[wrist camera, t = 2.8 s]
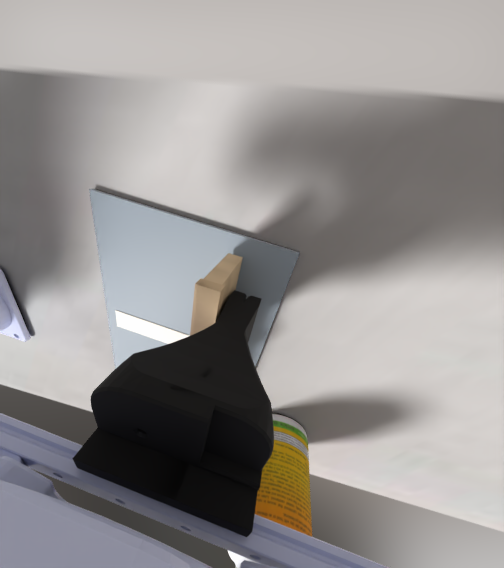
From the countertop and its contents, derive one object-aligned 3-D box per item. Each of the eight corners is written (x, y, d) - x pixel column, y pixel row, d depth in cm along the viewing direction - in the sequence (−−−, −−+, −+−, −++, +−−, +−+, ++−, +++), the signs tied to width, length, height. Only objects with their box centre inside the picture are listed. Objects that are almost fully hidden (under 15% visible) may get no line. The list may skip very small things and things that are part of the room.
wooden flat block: (224, 346, 14) (202, 398, 10) (211, 342, 14) (184, 392, 11) (244, 257, 10) (220, 291, 7) (226, 252, 11) (195, 284, 7)
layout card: (118, 369, 19) (115, 372, 18) (94, 189, 11) (88, 189, 11) (237, 412, 18) (236, 416, 18) (299, 252, 10) (299, 254, 10)
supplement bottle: (252, 404, 17) (210, 621, 9) (315, 422, 17) (334, 673, 8) (245, 435, 20) (207, 626, 11) (299, 452, 19) (301, 667, 11)
